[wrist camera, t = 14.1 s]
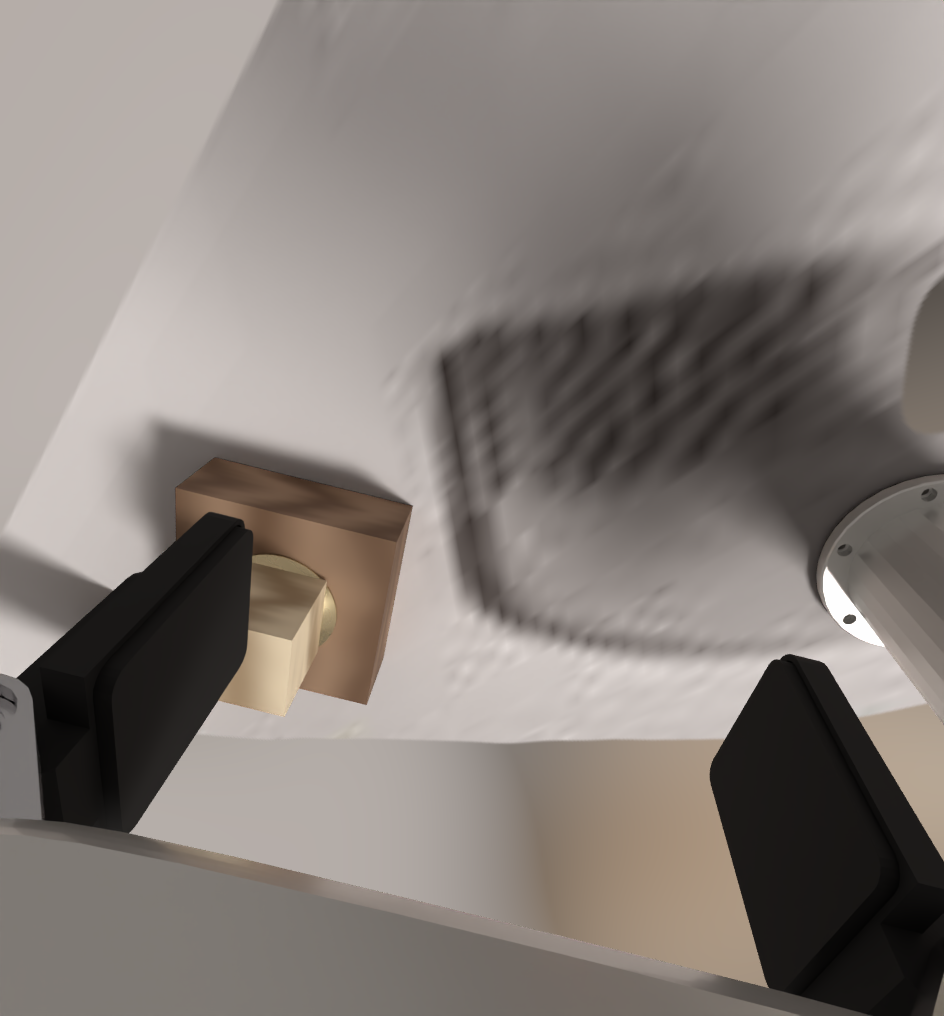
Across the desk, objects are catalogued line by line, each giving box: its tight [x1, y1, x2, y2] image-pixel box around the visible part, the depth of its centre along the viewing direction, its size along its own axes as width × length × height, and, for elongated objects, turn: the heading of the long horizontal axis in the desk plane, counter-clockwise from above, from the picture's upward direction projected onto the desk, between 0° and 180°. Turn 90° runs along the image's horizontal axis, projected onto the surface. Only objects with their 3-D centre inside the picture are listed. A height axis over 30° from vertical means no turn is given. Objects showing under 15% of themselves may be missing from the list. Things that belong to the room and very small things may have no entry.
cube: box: [218, 562, 327, 717], centre depth 38 cm, size 6×6×6 cm
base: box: [175, 458, 413, 705], centre depth 43 cm, size 14×14×5 cm
